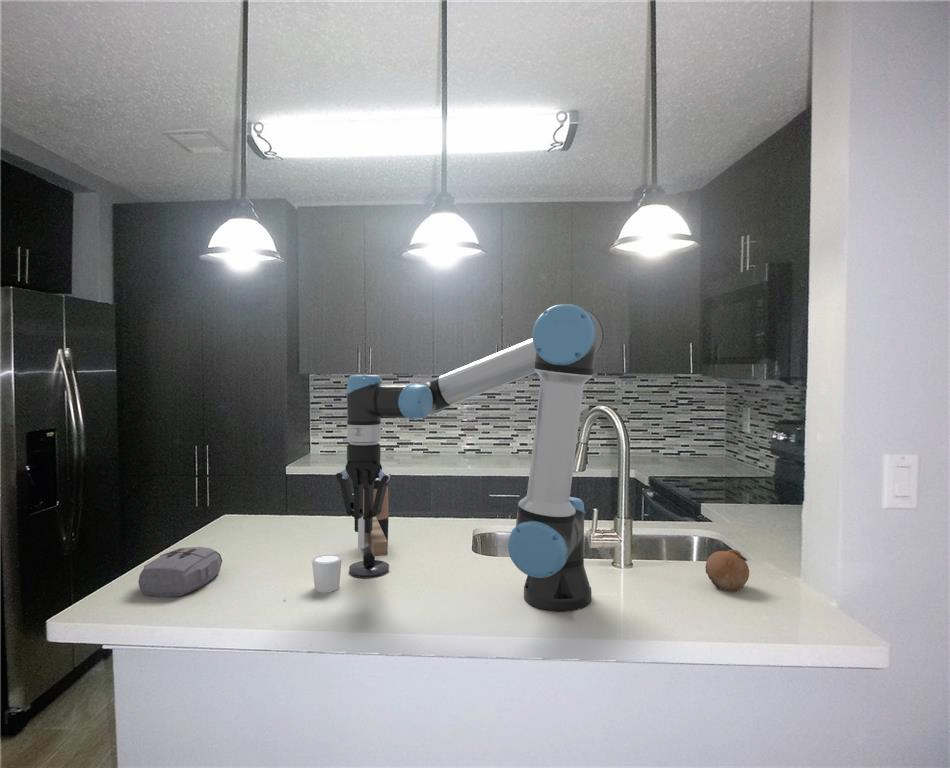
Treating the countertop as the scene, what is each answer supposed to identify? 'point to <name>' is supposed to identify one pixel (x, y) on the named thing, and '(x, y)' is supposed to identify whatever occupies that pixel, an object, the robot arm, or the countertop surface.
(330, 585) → the white cup
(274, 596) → the countertop surface
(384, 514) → the travel mug
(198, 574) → the soft grey pack
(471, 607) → the countertop surface
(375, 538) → the swing arm
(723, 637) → the countertop surface
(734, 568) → the onion
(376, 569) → the swing post
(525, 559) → the robot arm
